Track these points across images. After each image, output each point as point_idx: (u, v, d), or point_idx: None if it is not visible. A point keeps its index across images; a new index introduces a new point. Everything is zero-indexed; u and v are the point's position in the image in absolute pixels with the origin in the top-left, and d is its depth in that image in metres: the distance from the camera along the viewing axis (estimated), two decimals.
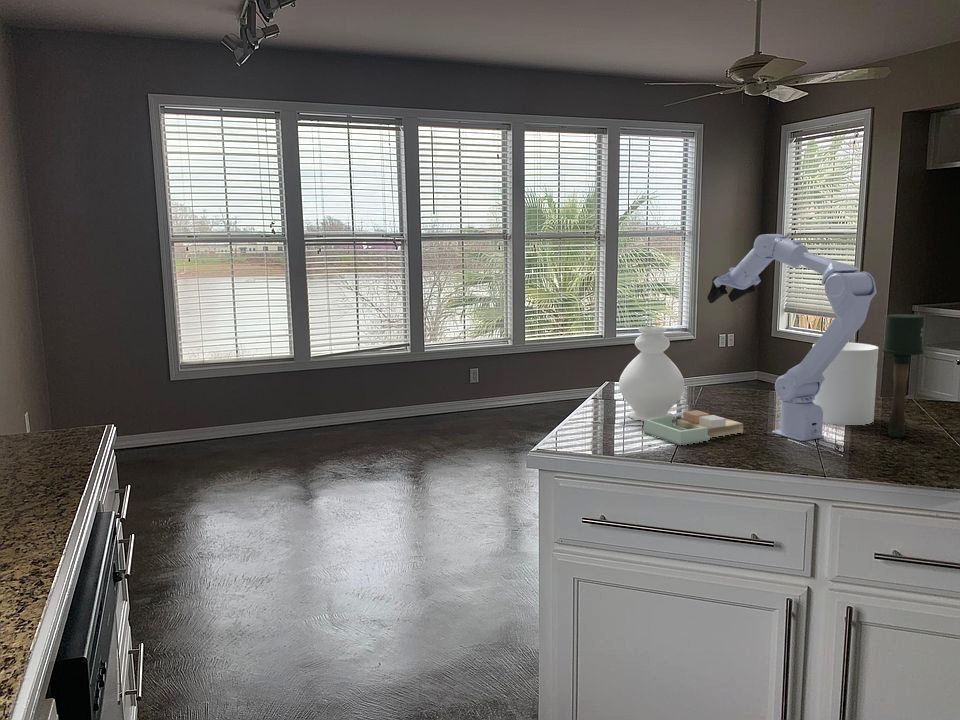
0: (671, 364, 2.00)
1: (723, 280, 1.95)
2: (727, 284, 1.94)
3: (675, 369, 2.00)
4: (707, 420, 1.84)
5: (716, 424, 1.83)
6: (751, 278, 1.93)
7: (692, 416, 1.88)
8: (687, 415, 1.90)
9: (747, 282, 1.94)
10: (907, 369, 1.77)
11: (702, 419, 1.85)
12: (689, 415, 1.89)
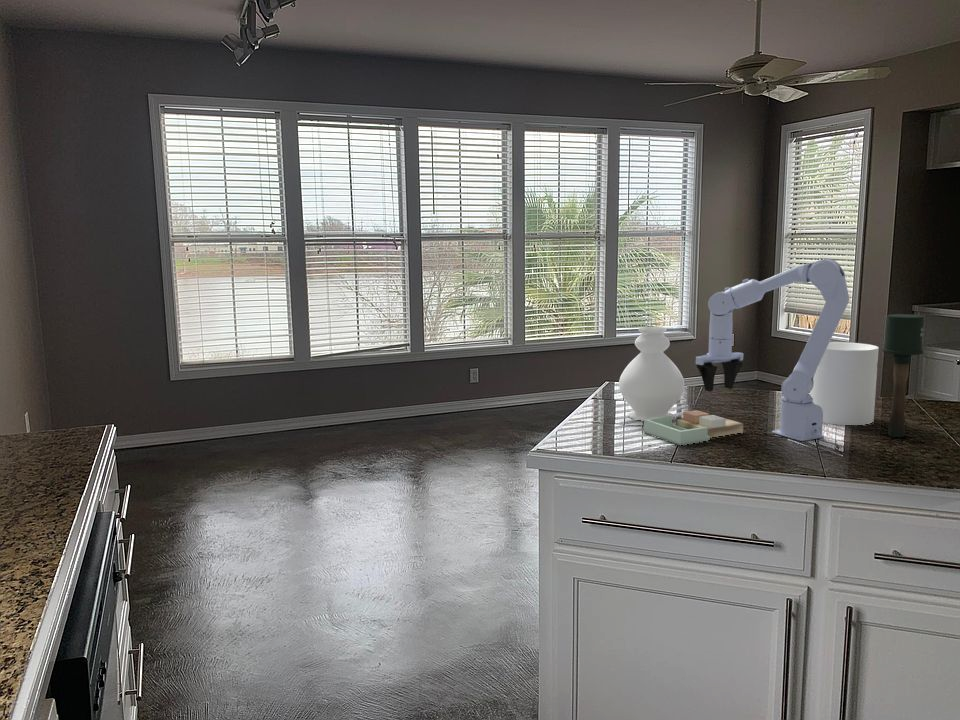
0: (671, 364, 2.00)
1: (703, 357, 1.89)
2: (709, 358, 1.88)
3: (675, 369, 2.00)
4: (707, 420, 1.84)
5: (716, 424, 1.83)
6: (727, 342, 1.88)
7: (692, 416, 1.88)
8: (687, 415, 1.90)
9: (726, 348, 1.88)
10: (907, 369, 1.77)
11: (702, 419, 1.85)
12: (689, 415, 1.89)
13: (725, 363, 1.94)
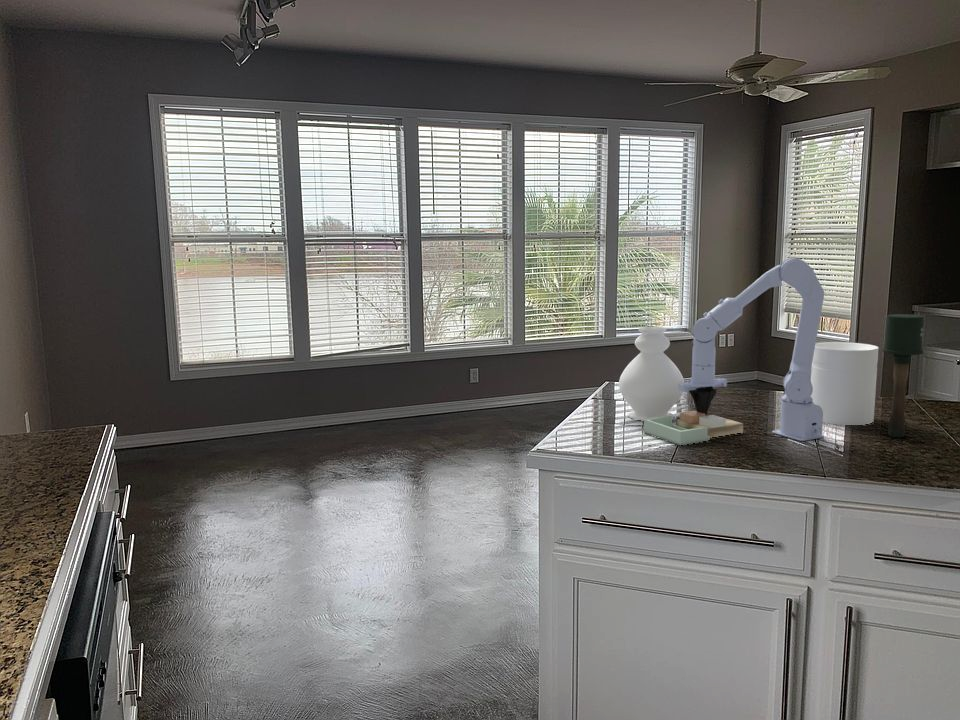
0: (671, 364, 2.00)
1: None
2: (692, 385, 1.87)
3: (675, 369, 2.00)
4: (707, 420, 1.84)
5: (716, 424, 1.83)
6: (710, 369, 1.87)
7: (689, 416, 1.88)
8: (683, 415, 1.90)
9: (709, 375, 1.87)
10: (907, 369, 1.77)
11: (702, 419, 1.85)
12: (686, 415, 1.89)
13: None
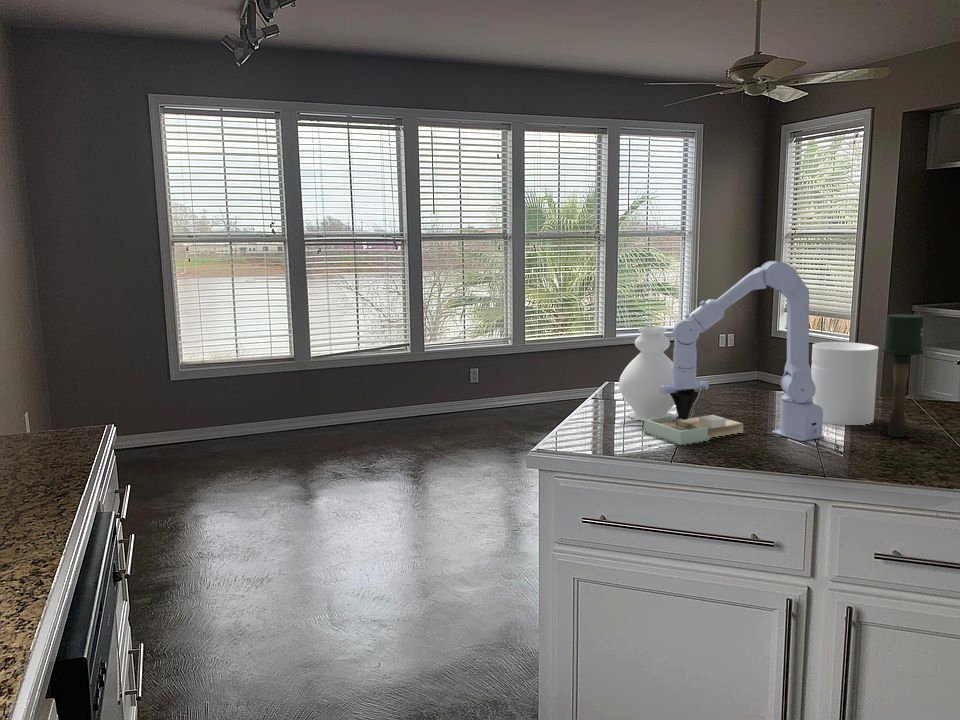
0: (671, 364, 2.00)
1: (667, 386, 1.85)
2: (672, 387, 1.84)
3: None
4: (707, 420, 1.84)
5: (716, 424, 1.83)
6: (690, 371, 1.84)
7: None
8: None
9: (690, 377, 1.84)
10: (907, 369, 1.77)
11: (702, 419, 1.85)
12: None
13: None
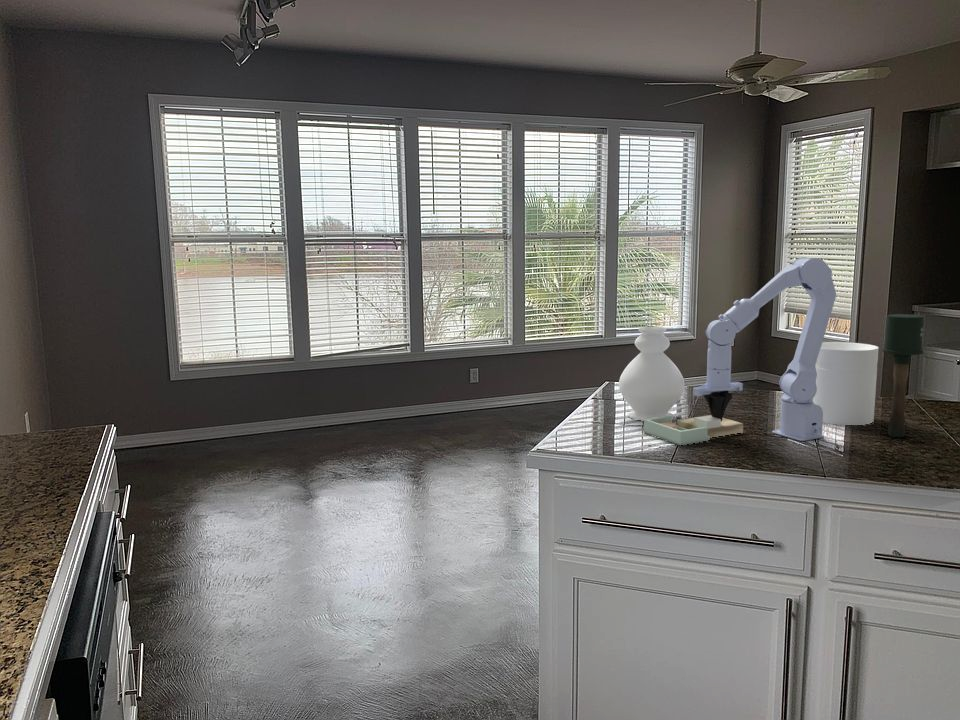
0: (671, 364, 2.00)
1: None
2: (707, 389, 1.81)
3: (675, 369, 2.00)
4: (702, 421, 1.83)
5: (711, 425, 1.82)
6: (725, 372, 1.81)
7: None
8: None
9: (725, 379, 1.81)
10: (907, 369, 1.77)
11: (697, 420, 1.85)
12: None
13: None
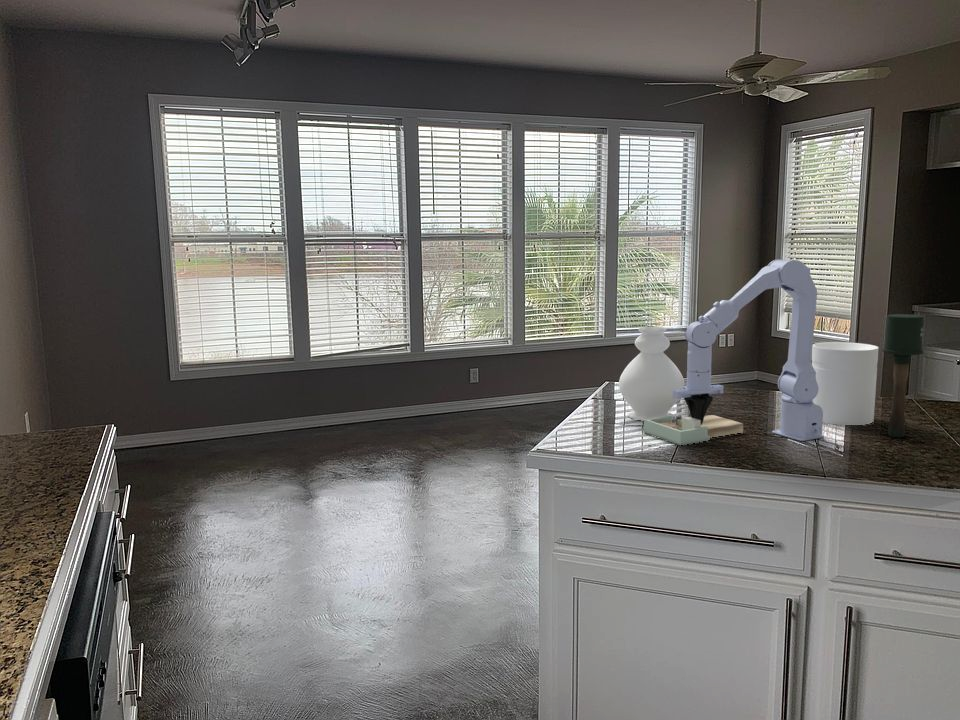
0: (671, 364, 2.00)
1: None
2: (687, 392, 1.78)
3: (675, 369, 2.00)
4: None
5: None
6: (705, 375, 1.78)
7: None
8: None
9: (705, 382, 1.79)
10: (907, 369, 1.77)
11: None
12: None
13: None
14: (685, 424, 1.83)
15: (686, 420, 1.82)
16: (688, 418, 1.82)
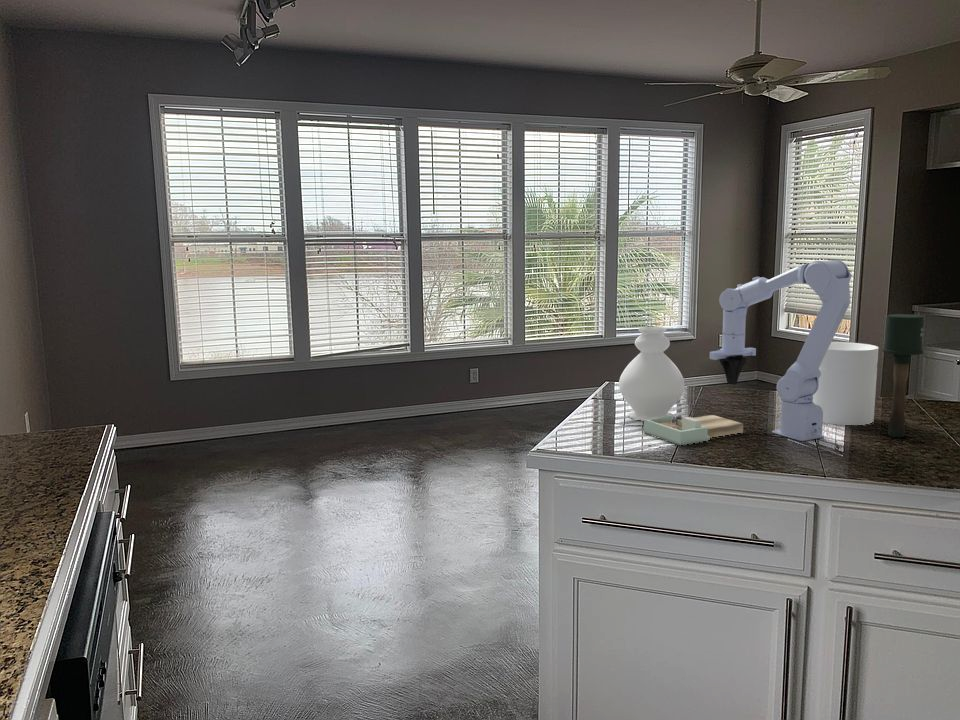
0: (671, 364, 2.00)
1: None
2: (723, 353, 1.92)
3: (675, 369, 2.00)
4: None
5: None
6: (740, 337, 1.92)
7: None
8: None
9: (739, 344, 1.93)
10: (907, 369, 1.77)
11: None
12: None
13: None
14: (685, 424, 1.83)
15: (686, 420, 1.82)
16: (688, 418, 1.83)
